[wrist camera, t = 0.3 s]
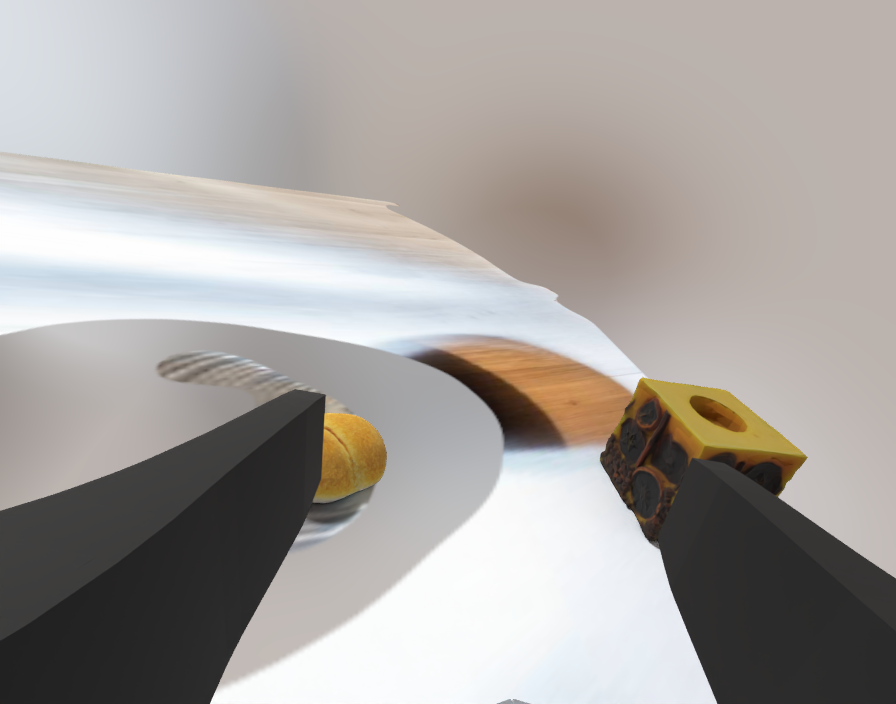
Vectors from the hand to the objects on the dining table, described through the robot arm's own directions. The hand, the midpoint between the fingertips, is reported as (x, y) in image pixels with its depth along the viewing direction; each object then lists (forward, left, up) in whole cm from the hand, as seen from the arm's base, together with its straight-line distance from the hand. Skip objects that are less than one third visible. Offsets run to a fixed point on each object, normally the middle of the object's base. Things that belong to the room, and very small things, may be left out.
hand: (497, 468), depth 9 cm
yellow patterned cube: (+28, -21, -21) cm, 41 cm away
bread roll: (+20, +9, -21) cm, 31 cm away
